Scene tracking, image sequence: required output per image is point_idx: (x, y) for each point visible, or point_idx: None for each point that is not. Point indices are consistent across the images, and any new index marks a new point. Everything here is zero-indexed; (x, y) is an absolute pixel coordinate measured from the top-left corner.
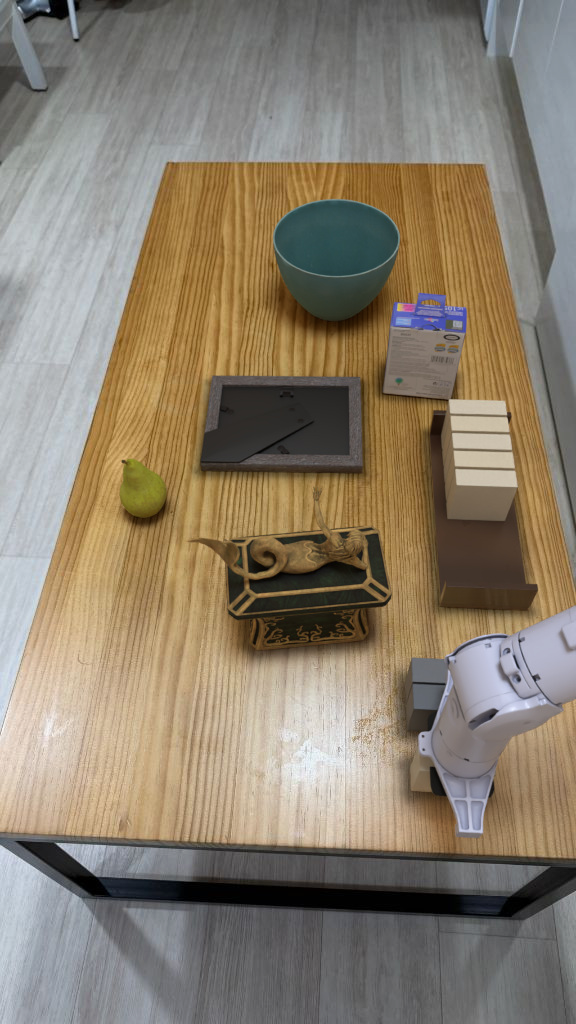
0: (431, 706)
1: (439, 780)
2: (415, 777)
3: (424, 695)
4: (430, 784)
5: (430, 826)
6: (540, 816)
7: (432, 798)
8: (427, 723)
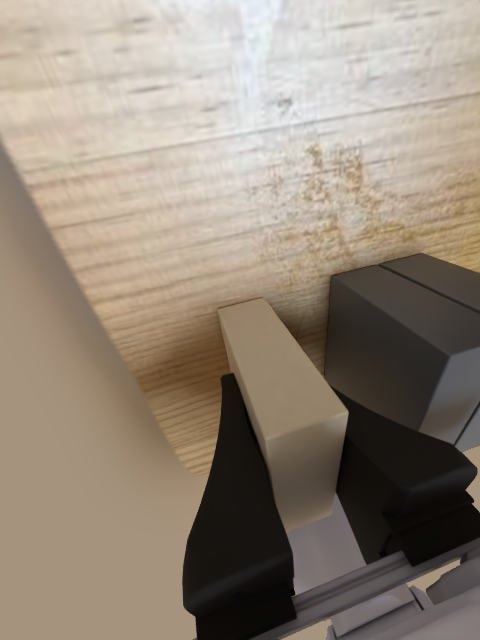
0: (441, 391)
1: (241, 584)
2: (242, 360)
3: (476, 370)
4: (218, 561)
5: (161, 353)
6: None
7: (213, 344)
8: (447, 469)
